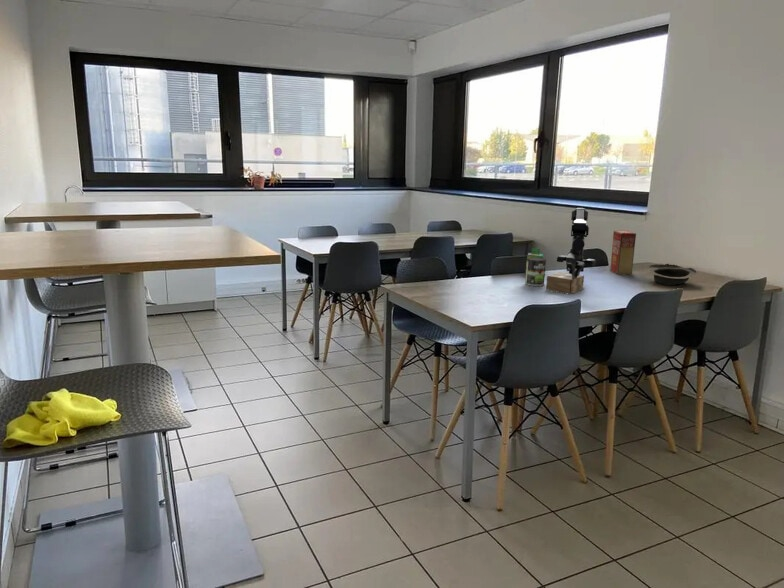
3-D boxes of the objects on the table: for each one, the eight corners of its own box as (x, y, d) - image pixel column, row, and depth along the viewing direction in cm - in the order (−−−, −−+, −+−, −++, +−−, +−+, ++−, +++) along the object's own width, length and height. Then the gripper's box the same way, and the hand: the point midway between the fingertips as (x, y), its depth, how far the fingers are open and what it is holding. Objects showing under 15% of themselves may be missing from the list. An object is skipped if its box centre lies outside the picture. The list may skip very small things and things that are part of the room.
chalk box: (525, 274, 342) (527, 249, 338) (526, 271, 351) (528, 247, 347) (541, 275, 339) (543, 250, 336) (542, 272, 348) (543, 248, 344)
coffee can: (547, 285, 312) (549, 260, 308) (530, 286, 309) (532, 260, 306) (538, 281, 321) (540, 256, 318) (521, 282, 319) (523, 257, 315)
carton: (558, 285, 312) (560, 272, 310) (581, 289, 303) (583, 275, 301) (545, 289, 302) (547, 275, 300) (569, 294, 293) (570, 279, 291)
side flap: (581, 289, 303) (583, 267, 300) (583, 289, 302) (585, 268, 299) (569, 293, 293) (571, 271, 290) (571, 293, 292) (573, 271, 290)
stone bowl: (675, 277, 336) (678, 262, 334) (703, 290, 313) (707, 274, 310) (637, 277, 332) (639, 262, 330) (662, 290, 309) (665, 274, 306)
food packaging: (609, 270, 356) (613, 230, 350) (624, 270, 356) (628, 230, 350) (617, 274, 343) (621, 233, 337) (632, 274, 343) (637, 233, 337)
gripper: (553, 246, 288) (550, 276, 292) (589, 251, 277) (586, 282, 280) (562, 244, 297) (559, 273, 300) (598, 248, 285) (594, 279, 289)
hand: (574, 277), depth 292 cm, fingers closed
